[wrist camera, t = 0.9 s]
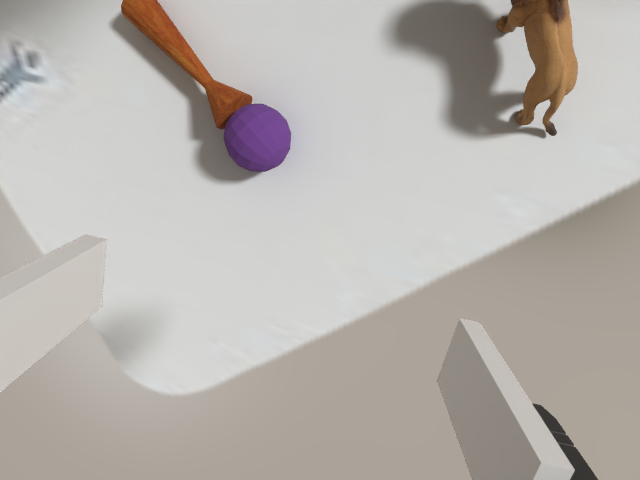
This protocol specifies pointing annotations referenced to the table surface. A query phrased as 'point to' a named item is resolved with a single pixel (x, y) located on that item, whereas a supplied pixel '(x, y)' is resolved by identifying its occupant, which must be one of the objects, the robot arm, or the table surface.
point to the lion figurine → (544, 54)
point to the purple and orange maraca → (219, 95)
